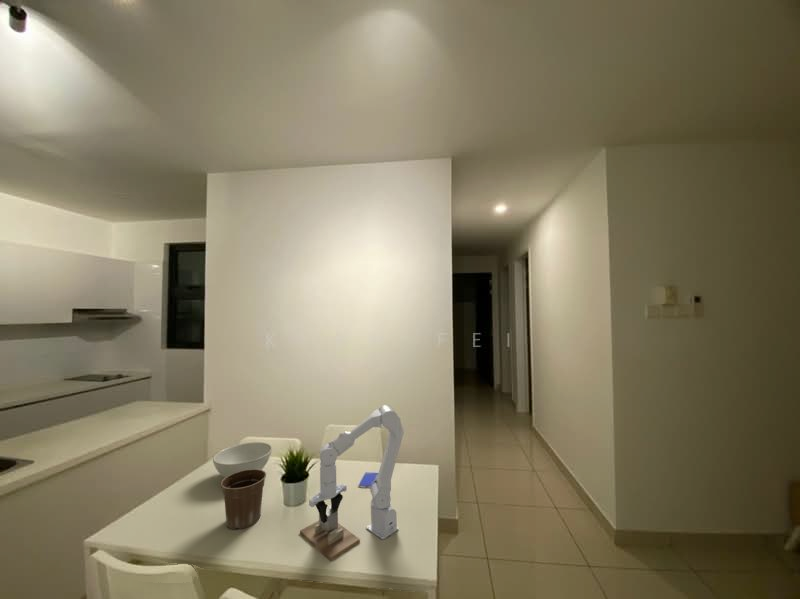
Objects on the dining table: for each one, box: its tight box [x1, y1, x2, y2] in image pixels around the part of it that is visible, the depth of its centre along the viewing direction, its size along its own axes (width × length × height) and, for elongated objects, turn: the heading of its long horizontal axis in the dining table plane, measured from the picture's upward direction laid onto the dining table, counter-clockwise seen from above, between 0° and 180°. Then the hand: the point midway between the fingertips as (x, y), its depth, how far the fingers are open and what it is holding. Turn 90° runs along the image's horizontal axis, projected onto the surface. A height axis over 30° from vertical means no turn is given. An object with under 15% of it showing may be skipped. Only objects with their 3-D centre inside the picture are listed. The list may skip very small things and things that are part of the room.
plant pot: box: [220, 469, 267, 530], centre depth 129 cm, size 16×16×16 cm
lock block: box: [318, 504, 339, 534], centre depth 118 cm, size 6×4×6 cm, turn 45°
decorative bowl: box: [212, 441, 273, 479], centre depth 164 cm, size 27×27×12 cm
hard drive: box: [357, 471, 379, 489], centre depth 157 cm, size 2×8×12 cm
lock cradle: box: [299, 520, 361, 561], centre depth 117 cm, size 20×12×4 cm, turn 45°
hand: (328, 518), depth 117 cm, fingers closed on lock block, 4 cm apart
